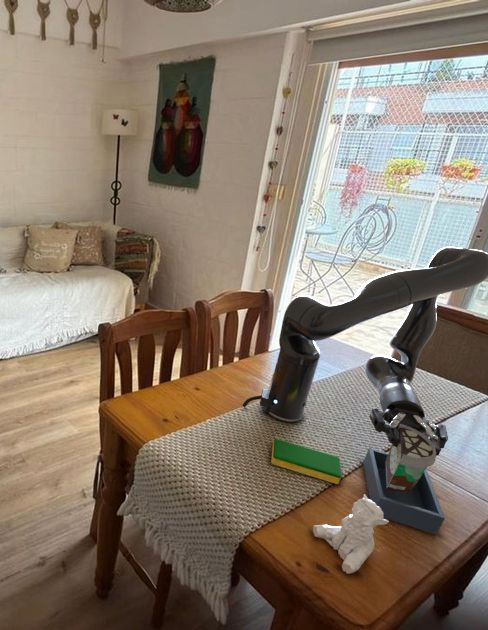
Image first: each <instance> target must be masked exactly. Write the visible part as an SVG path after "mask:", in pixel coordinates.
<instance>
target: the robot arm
mask: <svg viewBox="0 0 488 630" xmlns="http://www.w3.org/2000/svg"><path fill="white" fill-rule="evenodd" d="M487 279H488V253H487V252H485V251H483V250H478V249H473V248H464V247H455V246H446V247H443V248H440V249H439V250H437V251H436V252H435V253H434V255H432V257H431V259H430V261H429V263H428V264H427V267H423V268H422V267H421V268H411V269H403V270H395V271H392V272H391V271H390V272H387V273H385V274H382V275H379V276H377V277H374V278H372V279H369V280H367V281H366V282H364V283H363V284H362V285H361V287H360V288H359V289H358V290H357V292H356V293H355V295H354V297H353V298H351V299H349V300H347V301H344V302H341V303H337V304H331V305H329V304H326V303H325V302H323V301H321V300H319V299H317V298H315V297H313V296H311V295H306V294H305V295H298V296H297V297H294V298H293V299H292V300H291V302H289V304H288V305H287V307H286V308H285V312H284V314H283V317H282V323H281V327H280V334H279V339H278V344H279V352H278V356H277V360H276V363H275V367H274V371H273V373H272V376H271V380H270V383H269V388H268V389H267V388H262V390H261V394H260V395H256V396H251V397H249V398H247V399H246V400H245V401H244V402H243V404H242V405H241V406H242V407H243V408H246V407H247V406H248V404H249V403H250V402H252V401H256V400H259V401H260V402H259V406H261V407H263V408H264V414H267V415H269V416H271V417H273V418H274V419H276V420H280V421H282V422H287V423H296V422H299V421H301V420H302V418H303V413H304V412H305V411H304V410H305V408H307V403H308V398H309V394H310V390H311V387H312V384H313V381H314V377H315V374H316V371H317V368H318V365H319V361H320V358H321V351H320V349H319V347H318V346H317V344H316V342H321V341H324V340H327V339H329V338H332V337H335V336H336V335H338V334H340V333H342V332H344V331H346V330H349V329H351V328H353V327H355V326H357V325H359V324H362V323H364V322H367V321H370V320H372V319H375V318H377V317H381V316H383V315H386V314H390V313H393V312H396V311H398V310H401V309H404V308H406V307H409V306H410V307H409V309H408V311H407V313H406V315H405V317H404V318H403V320H402V322H401V323H400V324H399V327H398V328H397V330H396V331H395V332H394V334H393V336H392V337H391V339H390V341H389V347H391V348H392V349H393V350H394V351H395V352H397V353H398V354H399V355H400V361H398V360H396V359H395V358H393V357H390V356H388V355H385V354H375V355H373V356H371V357H370V358H368V360H367V361H366V363H365V367H364V368H365V369H364V370H365V371H364V372H365V374H366V377H367V379H368V380H369V382H371V384H372V385H373V387H375V388H376V389H377V391H378V394H379V404H380V406H381V409H382V411H380V410H379V409H378V408H377V407H372V409H371V411H370V413H369V417H368V418H369V420H370V421H371V424H372V426H373V428H374V430H375V431H376V432H377V433H384V435H385V436H386V437H387V440H388V442H389V444H391V446H395V447H397V446H398V444H399V441H400V437H399V434H398V431H397V429H398V427H399V425H400V424H403V425H406V426H408V427H411V428H413V429H415V430H417V431H419V432H420V433H422V434H423V435H425V436H426V437H427V438H428V439H429V440H430V441H431V442H432V443H433V444H434V446H435V450H436V457H438V456H439V455H440V453H441V452H442V449H444V448H445V446H446V444H447V442H448V440H449V436H448V430H447V426H446V425H445V424H443V423H439V424H438V425H435V424H432V423H430V421H429V420H428V419H426V415H425V411H424V409H423V406H422V404H421V401H420V399H419V397H418V395H417V393H416V392H415V390H414V388H413V386H412V382H413V380H414V378H415V374H416V371H417V367H418V366H417V365H418V362H419V360H420V356H421V353H422V351H423V350H424V348H425V347H426V345H427V344H428V343H429V341H430V339H431V338H432V336H433V334H434V333H435V330H436V327H437V302H438V297H439V296H440V295H443V294H447V293H450V292H456V291H460V290H463V289H464V290H465V289H468V288H472V287H475V286H478V285H479V284H481V283H483V282H485V281H486V280H487Z"/></svg>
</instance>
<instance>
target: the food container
mask: <svg viewBox="0 0 488 630" xmlns="http://www.w3.org/2000/svg"><path fill="white" fill-rule="evenodd" d="M397 431H398V434H399V437H400V441H399V444H398V446H397V447H395V446H392V445H391V446H390V448H389V451H388V453H389V454H388V456H387V459H386V462H385V463H386V484H387V489H388V490H391V491H396V492H409V491H411V490H413V488H414V487H415V485H416V483H417V482H418V480H419V479H420V477H421V475H422V474H423V472H424V471H425V469H427V468H428V467H431V466H433V465H434V464H435V463H436V458H437V456H436V450H435V446H434V444H433V443H432V442H431V441H430V440H429V439H430V438H429V437H428V438H427V437H426V436H425V435H423V434H422V433H420V432H419V431H417V430H415V429H413V428H411V427H408V426H406V425H403V424H400V425H399V427H398V429H397Z"/></svg>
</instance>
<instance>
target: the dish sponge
mask: <svg viewBox="0 0 488 630" xmlns="http://www.w3.org/2000/svg"><path fill="white" fill-rule="evenodd" d="M270 460H271V461H270V462H271V464H272V465H274V466H276V467H281V468H283V469H287V470H290V471H293V472H296V473H299V474H302V475H303V474H304V475H306V476H309V477H313V478H316V479H319V480H323V481H326V482H329V483H332V484H335V485H339V484H340V481H341V478H342V469H341V461H340V457H339V456H337V455H334V454H330V453H326V452H324V451H319V450H316V449H313V448H310V447H306V446H303V445H298V444H295V443H292V442H288V441H286V440H282V439H278V438H274V440H273V443H272V448H271V459H270Z"/></svg>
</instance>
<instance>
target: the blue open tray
mask: <svg viewBox="0 0 488 630" xmlns="http://www.w3.org/2000/svg"><path fill="white" fill-rule="evenodd" d="M388 454H389V452H385V451H381V450H377V449H374V448H370V447H368V449H367V452H366V454H365V457H364V460H363V462H362V465H363V470H364V474H365V480H366V485H367V490H368V491H367V492H368V497H369V499H370V500H372V501H373V502H375V503H376V505H377V506H379V507H380V508H381V510H382V512H383V513H384V514H383V516H384V518H383V519H386V520H388V521H389V520H390V521H392V522H395V523H399V524H402V525H404V526H408V527H411V528H414V529H416V530H420V531H423V532H426V533H429V534H433V535H436V536H437V534H438V532H439V530H440V529H441V527H442V525H443V523H444V521H445V519H446V517H445V515H444V512H443V509H442V506H441V504H440V501H439V499H438V496H437V493H436V490H435V488H434V485H433V482H432V479H431V477H430V475H429V472H428V469H427V468H426V469H425V471H424V472H423V474H422V475H421V477H420V479H419V480H418V482H417V483H416V485H415V487H414V488H413V490H411V491H409V492H396V491H391V490H388V489H387V484H386V463H385V462H386V459H387V456H388Z"/></svg>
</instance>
